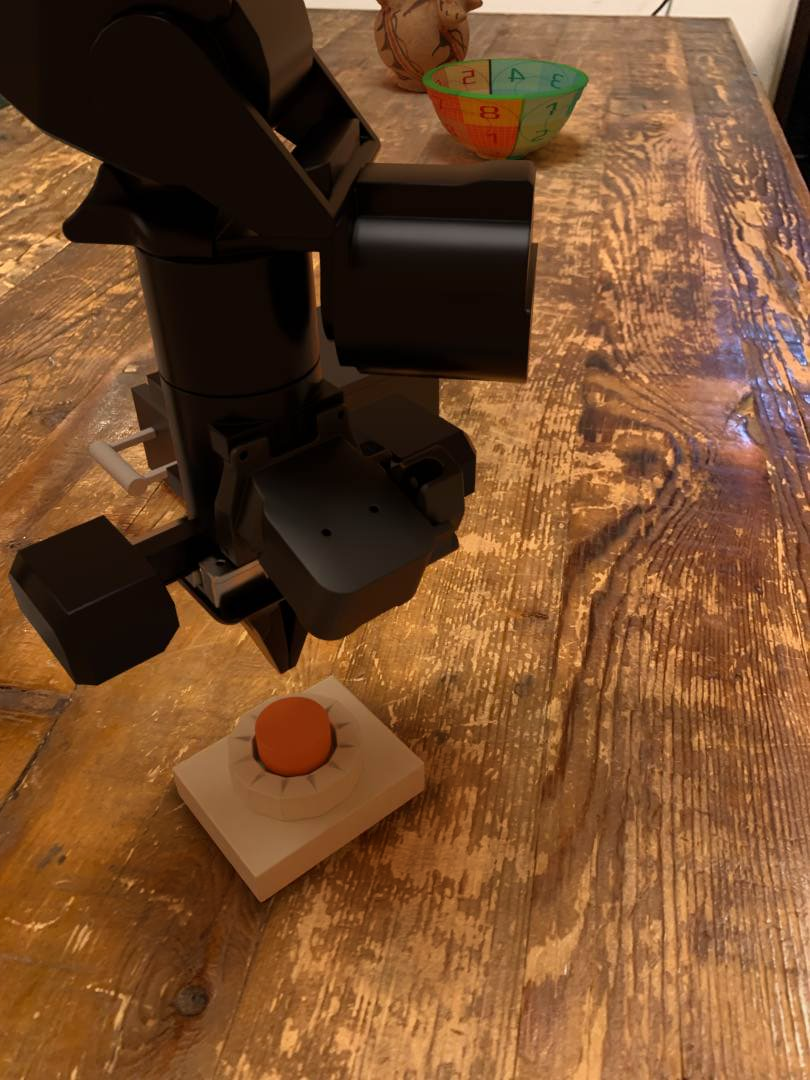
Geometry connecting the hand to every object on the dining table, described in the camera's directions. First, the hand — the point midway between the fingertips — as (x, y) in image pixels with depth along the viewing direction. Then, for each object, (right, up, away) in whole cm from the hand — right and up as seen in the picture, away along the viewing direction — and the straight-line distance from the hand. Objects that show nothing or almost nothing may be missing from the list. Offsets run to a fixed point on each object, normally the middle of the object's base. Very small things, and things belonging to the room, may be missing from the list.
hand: (282, 665), depth 43 cm
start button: (0, -5, +3) cm, 6 cm away
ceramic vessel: (+10, +84, +121) cm, 147 cm away
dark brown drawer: (-7, +10, +27) cm, 29 cm away
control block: (0, -7, +6) cm, 9 cm away
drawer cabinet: (-1, +13, +31) cm, 34 cm away
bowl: (+19, +60, +90) cm, 110 cm away
